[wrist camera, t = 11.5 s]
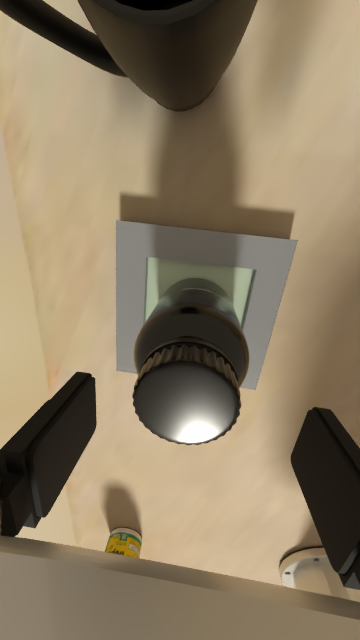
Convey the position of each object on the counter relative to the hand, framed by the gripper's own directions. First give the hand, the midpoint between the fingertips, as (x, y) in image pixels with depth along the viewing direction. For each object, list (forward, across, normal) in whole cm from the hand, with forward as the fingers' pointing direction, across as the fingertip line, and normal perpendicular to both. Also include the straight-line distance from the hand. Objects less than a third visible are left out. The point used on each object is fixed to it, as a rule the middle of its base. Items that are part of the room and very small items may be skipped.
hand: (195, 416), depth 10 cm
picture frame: (+13, +1, -1) cm, 13 cm away
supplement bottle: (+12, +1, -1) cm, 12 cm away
